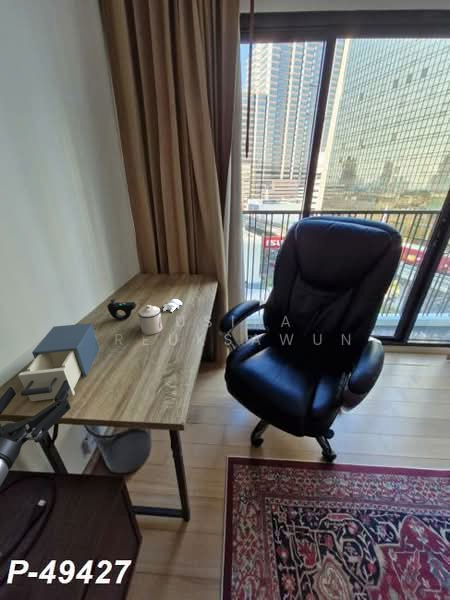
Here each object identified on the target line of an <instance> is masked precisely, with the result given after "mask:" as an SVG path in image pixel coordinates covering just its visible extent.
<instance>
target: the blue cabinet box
mask: <svg viewBox="0 0 450 600" xmlns="http://www.w3.org/2000/svg"><path fill="white" fill-rule="evenodd" d="M73 350H75V353H76V355H77V358H78V361H79V364H80V367H81V370H82V373H81V375H80V377H79V378H86V377H88V375H89V372H90V370H91V368H92V366H93V364H94V362H95V360H96V357H97V355H98V353H99V352H100V347H99V343H98V340H97V337H96V333H95V330H94V326H93V323H92V322H89V323H78V324H66V325H56V326H55V325H54V326H52V328H51V329H50V330H49V332H48V333H46V335H45V336H44V338H42V340H41V341H40V342H39V343H38V344H37V346H36V347H35V348H33V350H32V351H31V354H32V356H33V358H34V359H35V358H36V357H37V356H38V355H39V354H43V353H53V352H63V351H73Z"/></svg>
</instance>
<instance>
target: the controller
mask: <svg viewBox="0 0 450 600" xmlns="http://www.w3.org/2000/svg"><path fill="white" fill-rule="evenodd" d="M109 301H110V302H109V303H108V304H107V306H106V307H107V311H108V312H109V314H110V316H111V317H112V318H113V319H115V320H117V321H125V320H128V319H129V318H130V317H131V315H132V310H134V309H136V308H137V304H136V303H135V302H134V301H126V302H122V301H121V302H120V301H117V302H116V299H114V298H113V299H110V300H109ZM118 311H122V312H124V313H125V314H124V315H121V314H119V313H118Z"/></svg>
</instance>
